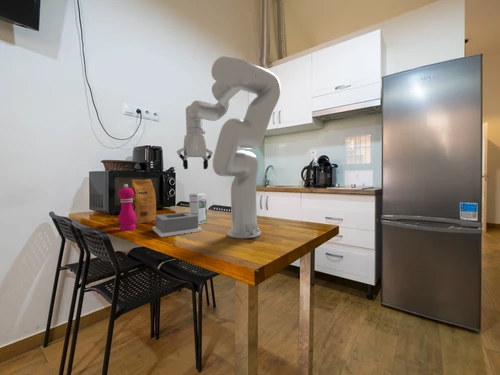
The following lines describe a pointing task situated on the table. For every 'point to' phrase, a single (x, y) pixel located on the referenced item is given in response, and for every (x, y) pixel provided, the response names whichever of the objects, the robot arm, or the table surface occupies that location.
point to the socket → (176, 224)
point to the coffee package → (143, 201)
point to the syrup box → (198, 206)
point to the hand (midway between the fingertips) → (195, 168)
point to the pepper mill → (126, 209)
